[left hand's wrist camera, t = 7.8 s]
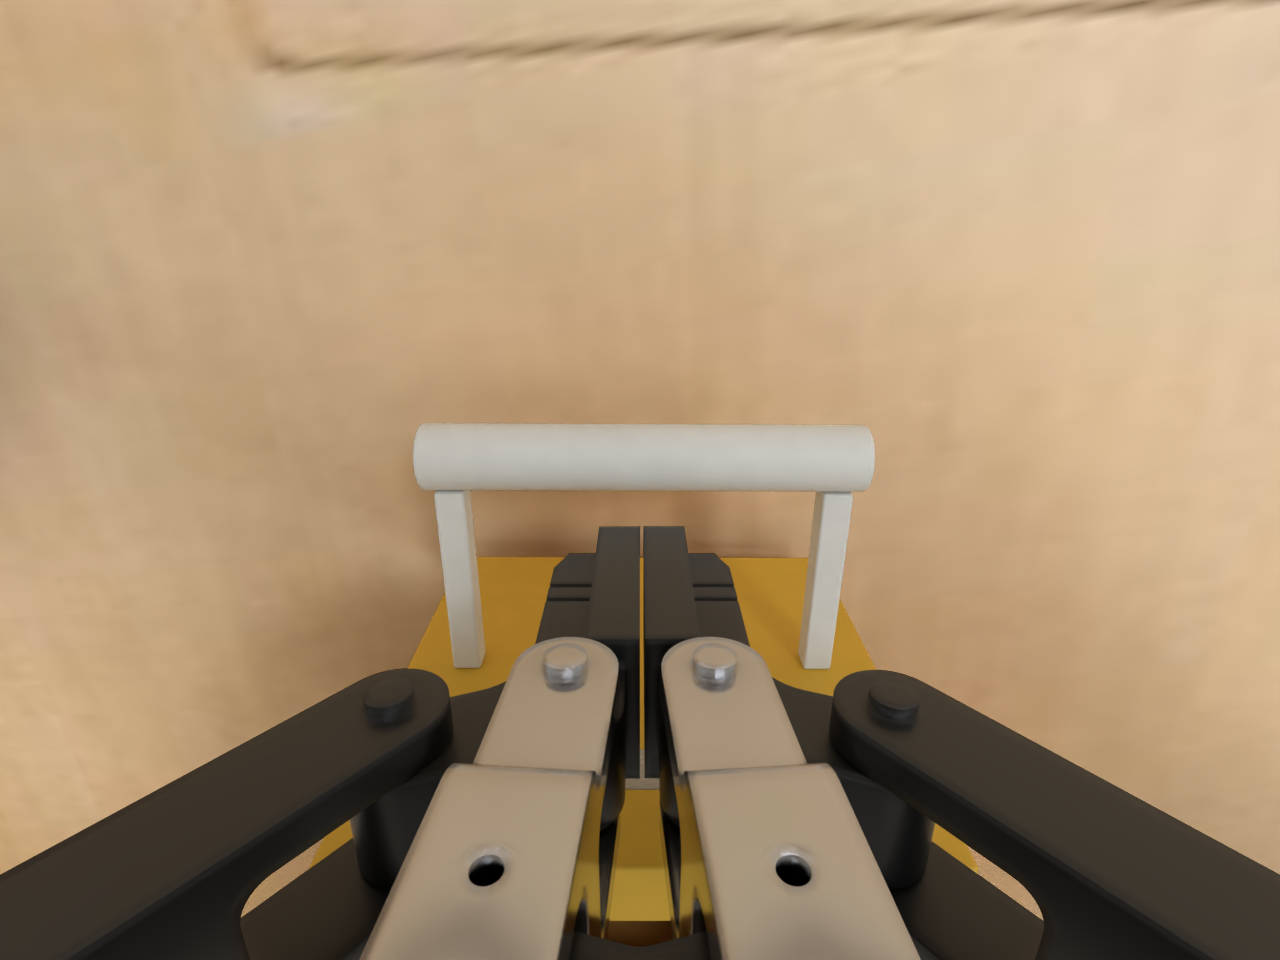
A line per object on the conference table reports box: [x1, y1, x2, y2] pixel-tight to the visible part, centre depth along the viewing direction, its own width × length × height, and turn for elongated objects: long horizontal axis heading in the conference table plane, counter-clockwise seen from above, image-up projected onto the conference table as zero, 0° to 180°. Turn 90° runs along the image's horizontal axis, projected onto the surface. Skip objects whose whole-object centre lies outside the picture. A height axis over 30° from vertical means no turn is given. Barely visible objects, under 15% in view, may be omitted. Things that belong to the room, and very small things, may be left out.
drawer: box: [309, 423, 978, 947], centre depth 17 cm, size 23×10×10 cm, turn 0°
